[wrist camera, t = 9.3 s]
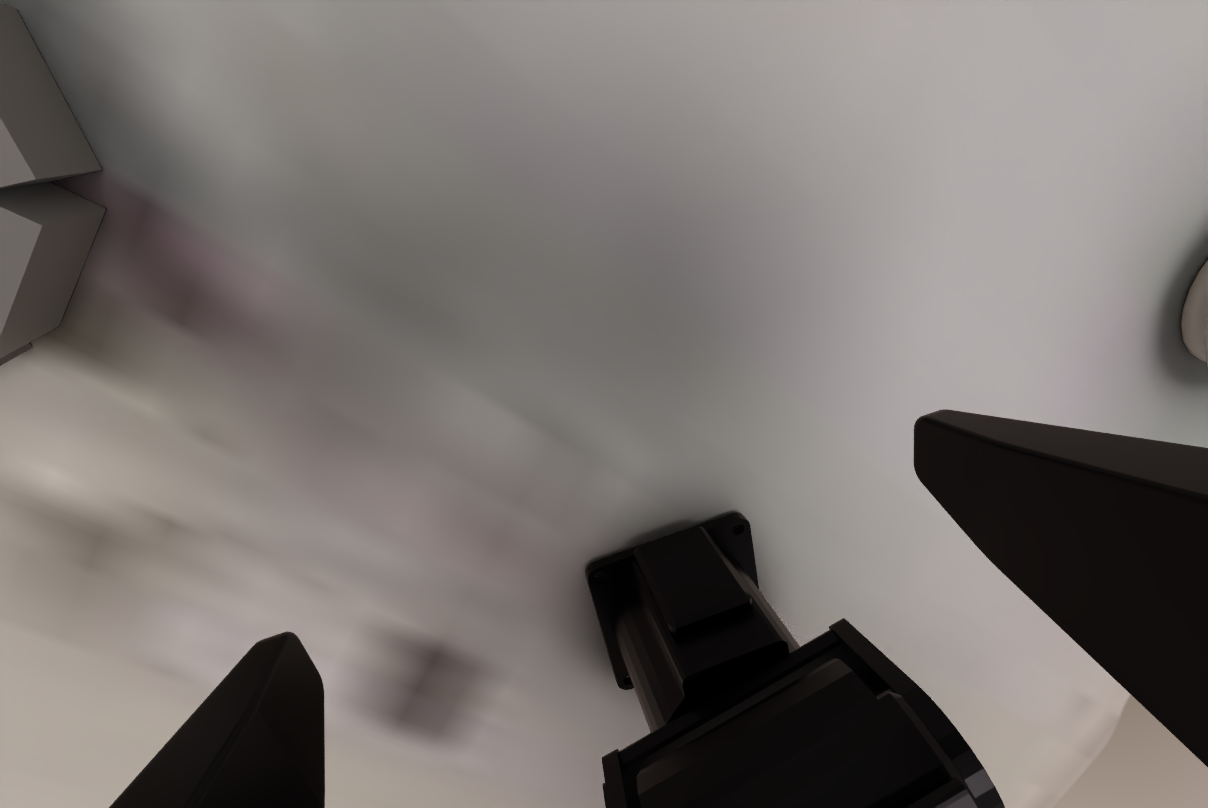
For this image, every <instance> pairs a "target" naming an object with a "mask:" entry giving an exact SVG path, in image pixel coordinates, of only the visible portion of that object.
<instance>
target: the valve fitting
mask: <svg viewBox="0 0 1208 808" xmlns="http://www.w3.org/2000/svg"><path fill="white" fill-rule="evenodd" d="M99 170H102V168H101V166H100V165H99V163H98V161H97V159H96V157H95V155H94V153H93V151H92V150H91V148H90V146H89V144H88V142H87V140H86V138H85V136H84V135H83V133H82V131H81V129H80V127H79V125H78V123H77V121H76V120H75V118H74V116H73V114H72V112H71V110H70V108H69V106H68V105H67V103H66V101H65V99H64V97H63V95H62V93H61V91H60V90H59V88H58V86H57V84H56V82H55V80H54V78H53V76H52V75H51V73H50V71H49V69H48V67H47V65H46V63H45V61H44V60H43V58H42V56H41V54H40V52H39V50H38V48H37V46H36V45H35V43H34V41H33V39H32V37H31V35H30V33H29V31H28V30H27V28H26V26H25V24H24V22H23V20H22V18H21V16H20V15H19V13H18V11H17V9H15V8H11V7H8V6H4V5H1V4H0V366H1V365H2V364H4V363H6V362H8V361H9V360H11V359H13V358H15V357H16V356H18V355H20V354H22V353H23V352H25V351H27V350H29V349H30V348H32V346H31V345H30V343H29V342H31V341H33V340H35V339H36V338H38V337H40V336H42V335H44V334H45V333H47V332H49V331H51V330H53V329H54V328H56V327H58V326H59V325H60V323H61V320H62V318H63V315H64V313H65V310H66V308H67V305H68V303H69V300H70V298H71V295H72V293H73V290H74V288H75V285H76V283H77V280H78V278H79V275H80V273H81V270H82V268H83V265H84V263H85V260H86V258H87V255H88V253H89V250H90V248H91V245H92V243H93V240H94V238H95V235H96V233H97V230H98V228H99V225H100V223H101V220H102V218H103V215H104V213H105V210H106V208H104V207H102V206H99V205H97V204H95V203H93V202H91V201H89V200H87V199H85V198H83V197H80V196H78V195H76V194H74V193H72V192H70V191H68V190H66V189H63V188H61V187H59V186H57V185H55V184H53V183H51V182H52V181H56V180H60V179H65V178H69V177H73V176H78V175H82V174H86V173H91V172H95V171H99Z"/></svg>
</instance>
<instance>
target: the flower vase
mask: <svg viewBox="0 0 1208 808" xmlns="http://www.w3.org/2000/svg"><path fill="white" fill-rule="evenodd" d="M1181 328H1182V336H1183V341H1184V343H1185V345H1186V346H1187V348H1188V350H1189V352H1190V353H1191V354H1193V355H1194V356H1196V357H1197V358H1198V359H1200V360H1201V361H1203V362H1205V363H1207V367H1208V260H1207V261H1206V263H1205V264H1204V265H1203V267H1202V268H1201V269H1200V271H1199V272H1198V274H1197V276H1196V278H1195V280H1194V282H1193V284H1192V286H1191V287H1190V289H1189V292H1188V295H1187V298H1186V301H1185V304H1184V307H1183V313H1182V321H1181Z"/></svg>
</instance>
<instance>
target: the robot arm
mask: <svg viewBox="0 0 1208 808" xmlns="http://www.w3.org/2000/svg"><path fill="white" fill-rule="evenodd" d="M914 468H915V472H916V474H917V476H918V478H919V480H920V481H921V482H922V484H923V485H924V486H925V487H926V488H927V489H928V491H929V492H930V493H931V494H932V495H933V496H934V497H935V499H936V500H937V501H938V502H939V503H940V504H941V506H942V507H943V508H944V509H945V510H946V511H947V512H948V514H949V515H950V516H951V517H952V518H953V519H954V521H955V522H956V523H957V524H958V525H959V526H960V527H961V529H962V530H963V531H964V532H965V533H966V534H967V536H968V537H969V538H970V539H971V540H972V541H973V542H974V544H975V545H976V546H977V547H978V548H979V549H980V550H981V551H982V552H983V553H984V555H985V556H986V557H987V558H988V559H989V560H990V561H991V562H992V563H993V564H994V565H995V566H996V567H997V568H998V569H999V570H1000V571H1001V572H1002V573H1003V574H1004V575H1006V576H1007V577H1008V578H1009V579H1010V580H1011V581H1012V582H1013V583H1014V584H1015V585H1016V586H1017V587H1018V588H1019V589H1020V590H1021V591H1022V592H1023V593H1025V594H1026V595H1027V596H1028V597H1029V598H1030V599H1031V600H1032V601H1033V602H1034V603H1035V604H1036V605H1037V606H1038V607H1039V608H1040V609H1041V610H1042V611H1043V612H1045V613H1046V614H1047V615H1048V616H1049V617H1050V618H1051V619H1052V620H1053V621H1054V622H1055V623H1056V624H1057V625H1058V626H1059V627H1060V628H1061V629H1062V630H1064V631H1065V632H1066V633H1067V634H1068V635H1069V636H1070V637H1071V638H1072V639H1073V640H1074V641H1075V642H1076V643H1077V644H1078V645H1079V646H1080V647H1081V648H1083V649H1084V650H1085V651H1086V652H1087V653H1088V654H1089V655H1090V656H1091V657H1092V658H1093V659H1094V660H1095V661H1096V662H1097V663H1098V664H1099V665H1100V666H1101V667H1103V668H1104V669H1105V670H1106V671H1107V672H1108V673H1109V674H1110V675H1111V676H1112V677H1113V678H1114V679H1115V680H1116V681H1117V682H1118V683H1119V684H1120V685H1122V686H1123V687H1124V688H1125V689H1126V690H1127V691H1128V692H1129V693H1130V694H1131V695H1132V696H1133V697H1134V698H1135V699H1136V700H1137V701H1138V702H1140V703H1141V704H1142V705H1143V706H1144V707H1145V708H1146V709H1147V710H1148V711H1149V712H1150V713H1151V714H1152V715H1153V716H1154V717H1155V718H1156V719H1157V720H1159V721H1160V722H1161V723H1162V724H1163V725H1164V726H1165V727H1166V728H1167V729H1168V730H1169V731H1170V732H1171V733H1172V734H1173V735H1174V736H1175V737H1176V738H1178V740H1180V741H1181V742H1182V743H1183V744H1184V745H1185V746H1186V747H1187V748H1188V749H1189V750H1190V751H1191V752H1192V753H1193V754H1195V756H1196V757H1197V758H1199V759H1200V760H1201V761H1202V762H1203V763H1204V764H1205V765H1206V766H1207V767H1208V448H1204V447H1197V446H1190V445H1183V444H1177V443H1170V442H1163V441H1156V440H1150V439H1143V438H1136V437H1129V436H1122V435H1116V434H1109V433H1102V432H1095V431H1089V430H1082V429H1075V428H1068V427H1062V426H1055V425H1048V424H1041V423H1034V422H1028V421H1021V420H1014V419H1007V418H1001V417H994V416H987V415H980V414H974V413H967V412H960V411H953V410H939V411H936V412H933V413H930V414H927V415H924V416H921V417H920V418H918V419H917V421H916V423H915V425H914ZM737 524H739V526H738V527H737V528H735V529H733V527H734V526H735V525H737ZM600 572H604V574H603V575H601V576H599V577H595V576H596V574H598V573H600ZM585 575H586V579H587V582H588V586H589V589H590V593H591V596H592V600H593V603H594V607H595V610H596V613H597V617H598V620H599V624H600V627H601V631H602V634H603V637H604V641H605V644H606V648H607V651H608V655H609V658H610V662H611V665H612V668H613V672H614V675H615V678H616V681H617V684H618V686H619V688H621V689H624V690H628V689H632V688H634V689H635V691H636V694H637V697H638V699H639V702H640V705H641V707H642V710H643V712H644V715H645V718H646V720H647V723H648V726H649V728H650V731H651V733H650V734H648V735H647V736H645V737H643V738H642V739H640V740H638V741H636V742H635V743H633V744H631V745H629V746H628V747H626V748H624V749H622V750H621V751H619V750H618V749H616V750H614V751H613V752H611V753H609V754H607V755H606V756H604V757H602V763H603V771H604V778H605V783H603V791H604V798H605V806H606V808H1005V807H1004V804H1003V802H1002V800H1001V798H1000V796H999V794H998V792H997V790H996V788H995V786H994V784H993V783H992V781H991V779H990V777H989V776H988V774H987V772H986V771H985V769H984V767H983V766H982V764H981V763H980V761H979V760H978V758H977V757H976V755H975V754H974V752H973V751H972V749H971V748H970V747H969V745H968V744H967V743H966V741H965V740H964V738H963V737H962V736H961V734H960V733H959V732H958V730H957V729H956V728H955V726H954V725H953V724H952V723H951V721H950V720H949V719H948V718H947V716H946V715H945V714H944V713H943V712H942V710H941V709H940V708H939V707H938V706H937V705H936V704H935V702H934V701H933V700H932V699H931V698H930V697H929V696H928V695H927V694H926V693H925V692H924V691H923V690H922V689H921V688H920V687H919V686H918V685H917V684H916V683H915V682H914V681H913V680H911V679H910V678H909V677H908V676H907V675H906V674H905V673H904V672H903V671H902V670H900V669H899V668H898V667H897V666H896V665H895V664H894V663H893V662H892V661H891V660H889V659H888V658H887V657H886V656H885V655H884V654H883V653H882V652H881V651H880V650H878V649H877V648H876V647H875V646H874V645H873V644H872V643H871V642H870V641H869V640H867V639H866V638H865V637H864V636H863V635H862V634H861V633H860V632H859V631H858V630H856V629H855V628H854V627H853V626H852V625H851V624H850V623H849V622H848V621H847V620H845V619H844V618H843V619H841V620H839V621H838V622H836V623H834V624H833V625H831V626H829V629H830V630H829V631H827V632H825V633H823V634H822V635H820V636H818V637H816V638H815V639H813V640H811V641H809V642H808V643H806V644H804V645H803V646H801V647H800V646H799V644H798V643H797V642H796V640H795V639H794V638H793V636H792V635H791V633H790V632H789V631H788V629H787V628H786V627H785V625H784V624H783V622H782V621H781V620H780V618H779V617H778V616H777V614H776V613H775V611H774V610H773V609H772V607H771V606H770V604H769V603H768V602H767V600H766V599H765V598H764V596H763V595H762V593H761V592H760V591H759V587H758V580H757V573H756V565H755V558H754V550H753V543H752V535H751V528H750V524H749V522H748V520H747V519H746V518H745V517H744V516H743V515H742V514H740V513H732V514H729V515H726V516H723V517H720V518H718V519H715V520H712V521H709V522H706V523H703V524H700V525H697V526H695V527H692V528H689V529H686V530H683V531H680V532H677V533H674V534H672V535H669V536H666V537H663V538H660V539H657V540H654V541H651V542H648V543H646V544H643V545H640V546H637V547H634V548H631V549H628V550H625V551H623V552H620V553H617V554H614V555H611V556H608V557H605V558H602V559H600V560H597V561H594V562H592V563H591V564H590V565H589V566H588V567H587V569H586V571H585ZM627 676H629V677H627ZM109 808H325V746H324V688H323V683H322V679H321V676H320V674H319V672H318V670H317V669H316V667H315V665H314V664H313V662H312V660H311V658H310V657H309V655H308V653H307V652H306V650H305V648H304V646H303V645H302V643H301V641H300V640H299V638H298V637H297V636H296V635H295V634H294V633H292V632H284V633H281V634H278V635H275V636H272V637H269V638H266V639H263V640H260V641H259V642H257V643H256V644H255V645H254V646H253V647H252V648H251V649H250V650H249V651H248V652H247V654H246V655H245V656H244V657H243V658H242V659H241V660H240V661H239V662H238V664H237V665H236V666H235V667H234V668H233V669H232V670H231V671H230V673H229V674H228V675H227V676H226V677H225V678H224V679H223V680H222V682H221V683H220V684H219V685H218V686H217V687H216V688H215V689H214V691H213V692H212V693H211V694H210V695H209V696H208V697H207V698H206V700H205V701H204V702H203V703H202V704H201V705H200V706H199V707H198V708H197V710H196V711H195V712H194V713H193V714H192V715H191V716H190V717H189V719H188V720H187V721H186V722H185V723H184V724H183V725H182V726H181V728H180V729H179V730H178V731H177V732H176V733H175V734H174V735H173V737H172V738H171V739H170V740H169V741H168V742H167V743H166V744H165V745H164V747H163V748H162V749H161V750H160V751H159V752H158V753H157V754H156V756H155V757H154V758H153V759H152V760H151V761H150V762H149V763H148V765H147V766H146V767H145V768H144V769H143V770H142V771H141V772H140V773H139V775H138V776H137V777H136V778H135V779H134V780H133V781H132V782H131V784H130V785H129V786H128V787H127V788H126V789H125V790H124V791H123V793H122V794H121V795H120V796H119V797H118V798H117V799H116V800H115V802H114V803H113V804H112V805H111V806H110V807H109Z"/></svg>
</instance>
